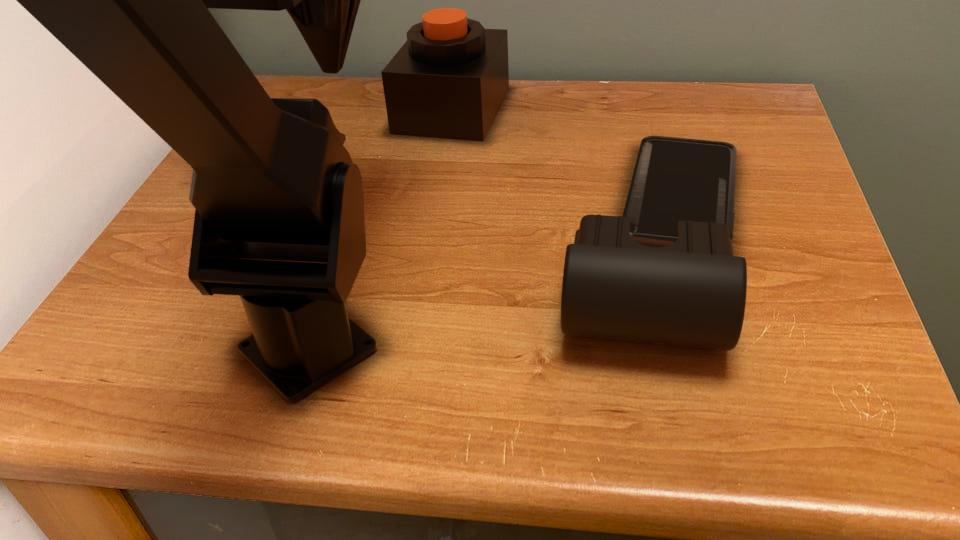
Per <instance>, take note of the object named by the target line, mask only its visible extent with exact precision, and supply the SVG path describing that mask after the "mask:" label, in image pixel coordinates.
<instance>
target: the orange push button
mask: <svg viewBox="0 0 960 540" xmlns="http://www.w3.org/2000/svg"><path fill="white" fill-rule="evenodd" d="M467 18H468V14H467V12H466V11H465V10H463V9H460V8H457V7H440V8H435V9H434V8H433V9H431V10H429V11H426V12H425V13H423V15H422V17H421V22H423V31H424V37H425V38H428V39H431V40H452V39H458V38H461V37H463V36H466V35H467V34H468V27H467Z"/></svg>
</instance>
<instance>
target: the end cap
mask: <svg viewBox="0 0 960 540" xmlns="http://www.w3.org/2000/svg"><path fill="white" fill-rule="evenodd" d="M578 227H579V228H578V229H576V231H575V234H574V241H573V242H574V243H569V244H568V245H567V246H566V249H565V255H564V263H563V273H562V284H561V295H560V297H561V298H560V321H559V322H560V331H561V333H562V334H563V335H566V336H575V337H584V338H593V339H605V340H613V341H614V340H616V341H626V342H634V343H636V342H637V343H645V344H654V345H655V344H656V345H666V346H675V347H676V346H677V347H686V348H696V349H705V350H707V349H708V350H718V351H726V352H727V351H732V350H734V349H736V347H737V345H738V343H739V341H740V338H741V334H742V330H743V325H744V319H745V313H746V312H745V311H746V304H747V303H746V302H747V291H748V290H747V289H748V288H747V287H748V267H747V266H748V265H747V259H746V257H744V256H738V255H734V251H733V250H734V249H733V242H731V241H730V233H729V229H728V227H727V226H726V225H724V224H721V223H713V222H694V221H679V222H678V239H677V241H676V242H674V243H673V244H671V245H669V246H665V247H649V246H645V245H642V244H640V243H638V242H636V241H635V240H634V239H633V238H632V237H631V235H630V217H623V215H618V216H617V215H606V214H605V215H603V214H586V215H584V216H582V217H581V218H580V223H579V226H578Z"/></svg>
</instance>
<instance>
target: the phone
mask: <svg viewBox="0 0 960 540" xmlns="http://www.w3.org/2000/svg"><path fill="white" fill-rule="evenodd" d="M737 150H738V149H737V147H736V146H735V145H734V144H732V143H730V142H726V141H719V140H707V139H697V138H687V137H675V136H666V135H648V136H645V137H643V138H642V139H641V141H640V144H639V149H638V153H637V157H636V159H635V165H634V169H633V173H632V176H631V180H630V185H629V188H628V193H627V197H626V200H625V206H624V208H623V213H622V216H623V217H630V235H631V237H632V238H633V239H634V240H635V241H636V242H638V243H640V244H642V245H645V246H649V247H665V246H669V245H671V244H673V243H674V242H676V241H677V239H678V222H679V221H694V222H713V223H721V224H724V225H726V226H727V227H728V229H729V233H730V241H731V243H733V242H732V241H733V238H734V232H733V231H734V224H735V223H734V222H735V211H734V210H735V193H736V192H735V190H736V169H737V153H738V151H737Z"/></svg>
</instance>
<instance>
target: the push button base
mask: <svg viewBox="0 0 960 540" xmlns="http://www.w3.org/2000/svg"><path fill="white" fill-rule="evenodd" d="M467 27H468V34H467V35H466V36H463V37H461V38H458V39H452V40H431V39H428V38H425V37H424V31H423V21H420V22H417V23H415V24H413V25H412V26H411V27H410V28H409V29H408V30H407V31H406V41H405V42H404V43H403V45H402V46H401V47H400V48H399V49H398V51H396V53H395V54H394V56H393V57H392V58H391V59H390V60H389V62H388V63H387V64H386V65H385V66H384V67H383V69H382V70H381V71H380V75H381V80H382V81H381V82H382V87H383V95H384V103H385V109H386V115H387V124H388V129H389V135H392V136H393V135H394V136H395V135H396V136H404V137H405V136H407V137H417V138H418V137H419V138H433V139H446V140H460V141H470V142H471V141H472V142H485V140H486V138H487V135H488V134H489V132H490V129H491V128H492V125H493V123H494V121H495V119H496V117H497V115H498V113H499V111H500V109H501V107H502V105H503V103H504V101H505V98H506V97H507V94H508V92H509V90H510V76H509V75H510V74H509V73H510V71H509V69H510V68H509V40H508V33H509V31H508V29H503V28H502V29H500V28H485V26H484V25H483V24H482V23H481V22H480V21H478V20H475V19H473V18H468V17H467Z"/></svg>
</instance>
